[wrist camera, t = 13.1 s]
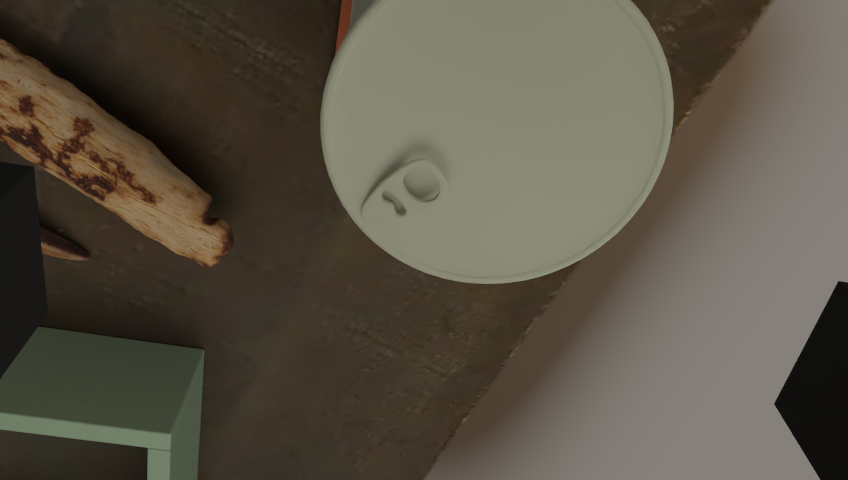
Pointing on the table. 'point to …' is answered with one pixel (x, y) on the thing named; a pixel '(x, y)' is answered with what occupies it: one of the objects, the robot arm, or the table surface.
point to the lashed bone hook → (103, 163)
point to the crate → (109, 395)
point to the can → (495, 130)
